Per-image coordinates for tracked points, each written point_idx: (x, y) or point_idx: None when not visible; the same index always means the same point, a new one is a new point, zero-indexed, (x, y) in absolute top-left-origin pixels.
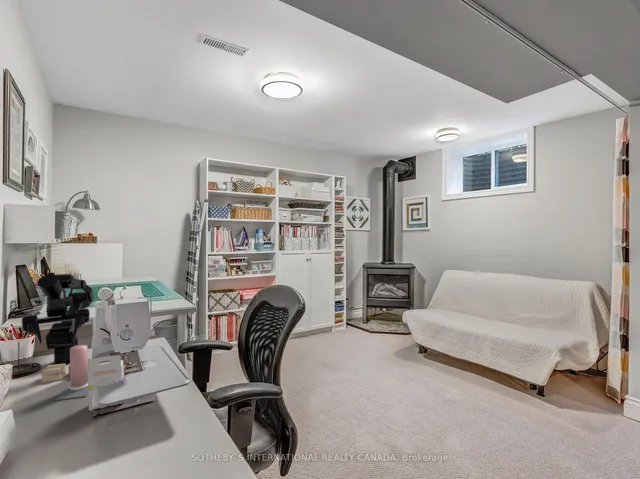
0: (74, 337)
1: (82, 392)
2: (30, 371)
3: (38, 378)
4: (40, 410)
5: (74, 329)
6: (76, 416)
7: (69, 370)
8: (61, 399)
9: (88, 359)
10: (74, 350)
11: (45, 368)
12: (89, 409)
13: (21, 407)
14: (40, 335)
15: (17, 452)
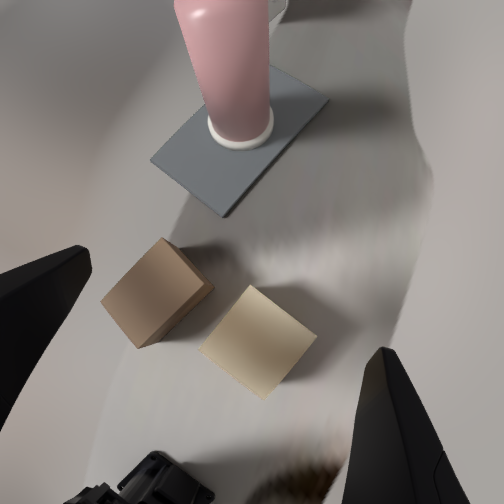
0: (88, 259)
1: None
2: (286, 497)
3: (300, 394)
4: (368, 82)
5: (23, 281)
6: (311, 9)
7: (206, 282)
8: (313, 89)
9: (106, 299)
10: None
11: (290, 362)
12: (284, 5)
13: (405, 143)
14: (398, 412)
15: (403, 3)
